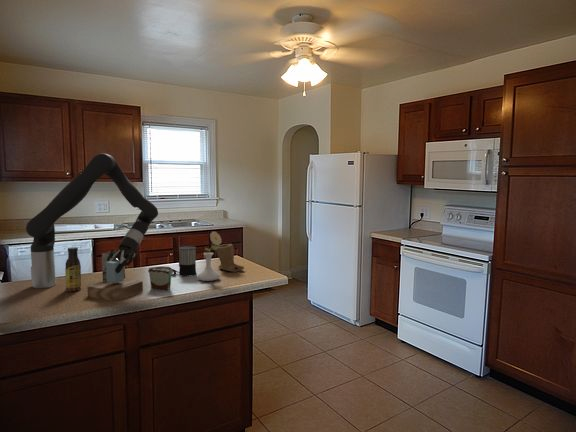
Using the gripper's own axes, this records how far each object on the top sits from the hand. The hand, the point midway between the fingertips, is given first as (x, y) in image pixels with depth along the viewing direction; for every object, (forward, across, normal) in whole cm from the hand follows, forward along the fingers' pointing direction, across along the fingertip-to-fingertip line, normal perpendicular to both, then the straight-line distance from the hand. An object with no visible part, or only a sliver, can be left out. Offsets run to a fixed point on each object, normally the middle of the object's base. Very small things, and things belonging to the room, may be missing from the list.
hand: (111, 271), depth 167 cm
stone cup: (-35, +23, +50) cm, 65 cm away
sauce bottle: (+9, -22, +6) cm, 25 cm away
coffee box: (-1, -13, +17) cm, 21 cm away
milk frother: (-21, +5, +36) cm, 42 cm away
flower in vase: (-20, +25, +35) cm, 47 cm away
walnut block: (+7, 0, +9) cm, 11 cm away
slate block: (+2, 0, +5) cm, 5 cm away
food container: (-4, +14, +20) cm, 24 cm away
